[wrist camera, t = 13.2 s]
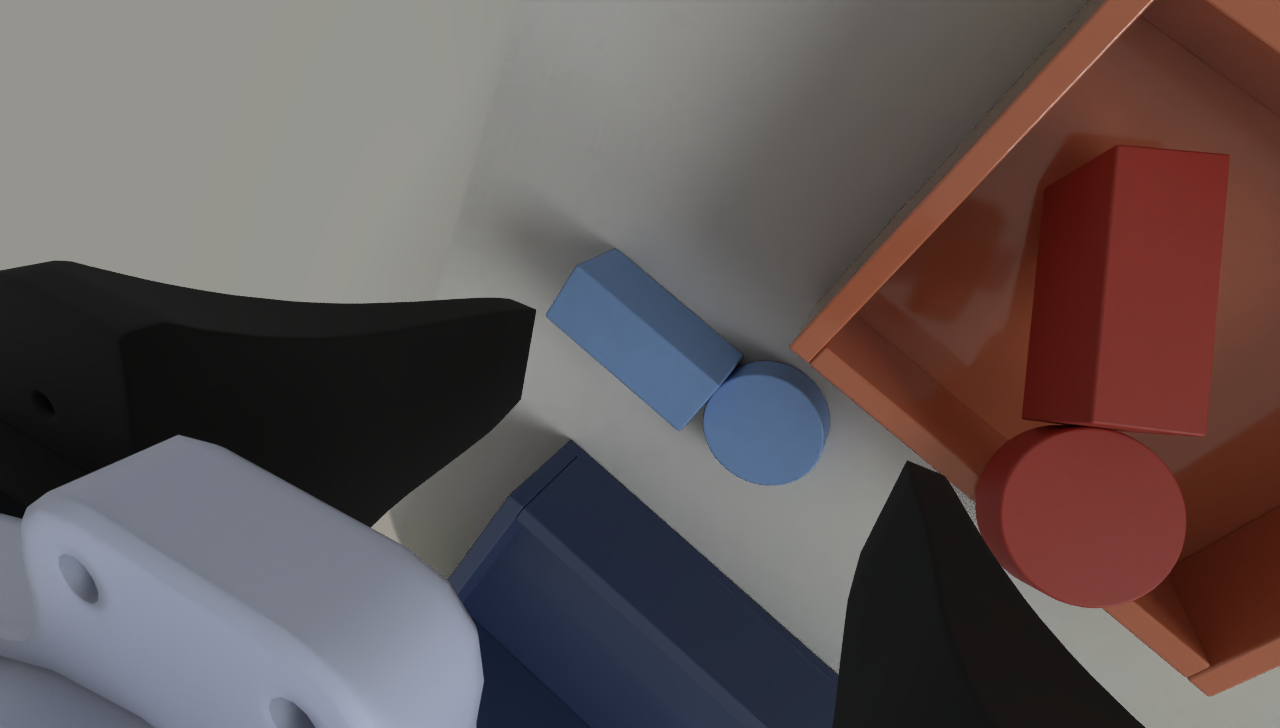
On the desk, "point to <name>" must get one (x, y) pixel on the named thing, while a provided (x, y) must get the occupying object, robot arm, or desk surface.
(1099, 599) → the red post on disc
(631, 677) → the navy bin
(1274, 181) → the terracotta bin
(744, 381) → the blue disc on block
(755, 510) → the desk surface
